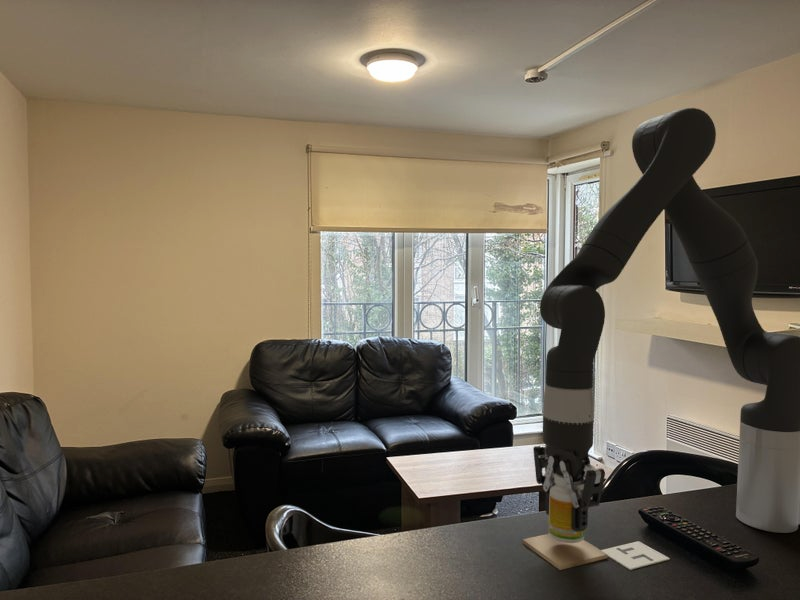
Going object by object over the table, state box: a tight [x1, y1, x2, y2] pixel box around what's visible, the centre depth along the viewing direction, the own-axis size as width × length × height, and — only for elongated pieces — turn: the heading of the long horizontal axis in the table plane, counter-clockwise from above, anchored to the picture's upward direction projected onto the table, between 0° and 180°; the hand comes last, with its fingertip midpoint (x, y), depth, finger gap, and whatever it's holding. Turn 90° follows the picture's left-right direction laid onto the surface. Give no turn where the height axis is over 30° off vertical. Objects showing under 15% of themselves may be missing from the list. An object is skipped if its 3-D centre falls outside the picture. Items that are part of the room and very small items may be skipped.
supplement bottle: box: [548, 473, 586, 543], centre depth 90 cm, size 5×5×10 cm
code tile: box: [600, 541, 670, 571], centre depth 89 cm, size 8×6×1 cm
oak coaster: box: [522, 533, 608, 571], centre depth 90 cm, size 9×9×1 cm
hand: (565, 521), depth 90 cm, fingers closed on supplement bottle, 5 cm apart
